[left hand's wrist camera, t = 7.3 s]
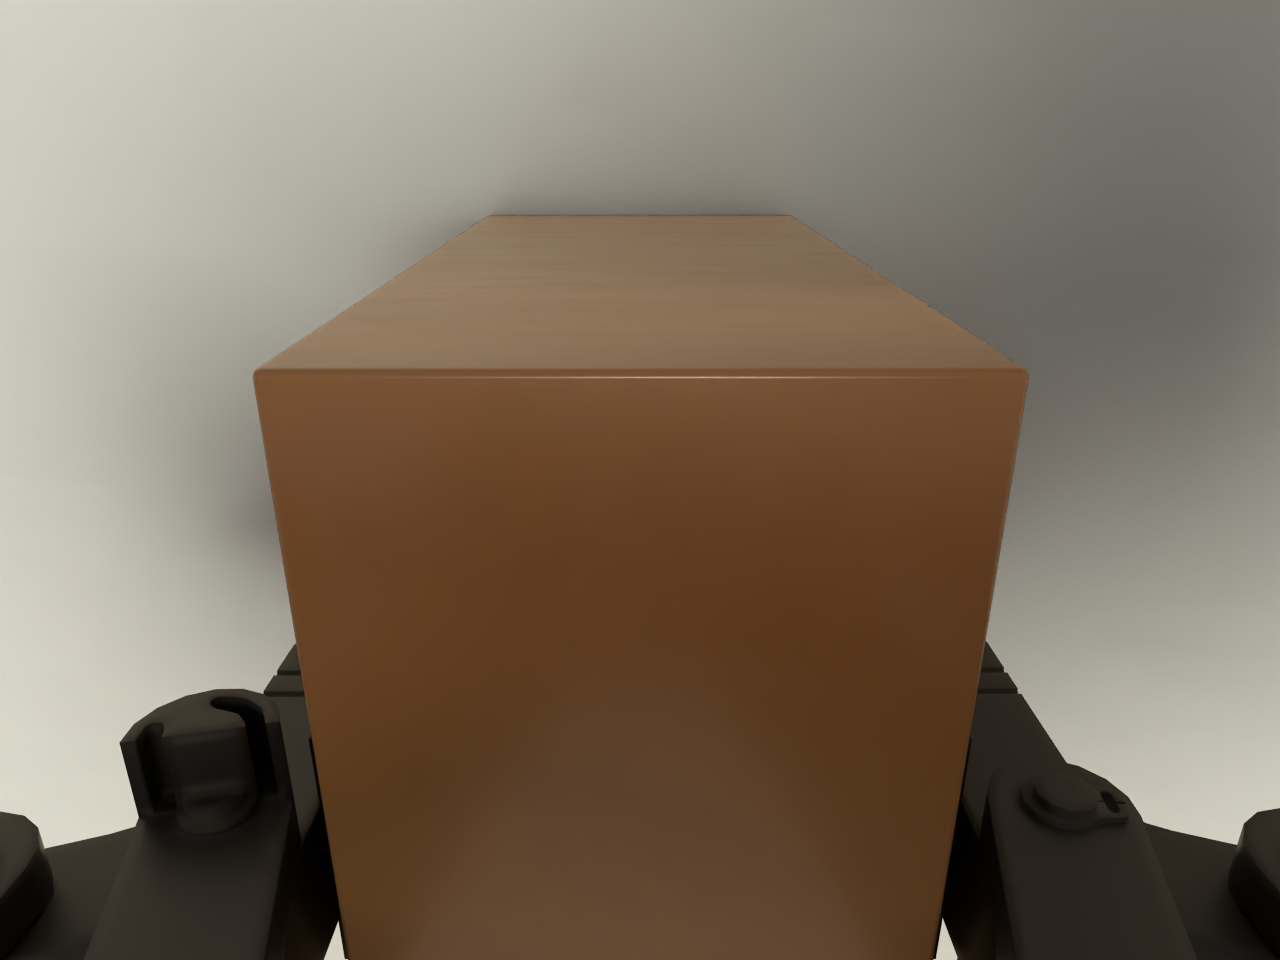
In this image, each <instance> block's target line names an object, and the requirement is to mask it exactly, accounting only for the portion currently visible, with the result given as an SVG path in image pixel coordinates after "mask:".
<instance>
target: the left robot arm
mask: <svg viewBox="0 0 1280 960" xmlns="http://www.w3.org/2000/svg"><path fill="white" fill-rule="evenodd" d="M1017 689H1018V688H1017V687H1016V685H1015V684H1014V682H1013V681H1012V679H1011V678H1010V676H1009V675H1008V673H1004V667H1003V666H1002V664H1001V663H1000V661H999V660H998V658H997V657H996V655H995V654H994V652H993V650H992V649H991V647H990V646H989V644H988V643H987V642H986V641H985V646H984V652H983V658H982V664H981V670H980V677H979V683H978V689H977V695H976V701H975V707H974V713H973V719H972V725H971V731H970V737H969V743H968V749H967V755H966V762H965V768H964V774H963V780H962V786H961V792H960V798H959V804H958V810H957V816H956V822H955V828H954V834H953V841H952V847H951V853H950V859H949V865H948V871H947V877H946V883H945V889H944V895H943V901H942V907H941V913H940V919H939V926H938V932H937V938H936V944H935V950H934V956H933V959H936V954H937V948H938V942H939V936H940V930H941V924H942V918H943V920H944V922H945V925H946V927H947V930H948V933H949V935H950V938H951V941H952V943H953V946H954V949H955V951H956V954H957V957H958V958H957V960H1280V808H1278V809H1272V810H1267V811H1261V812H1257V813H1256V814H1255V815H1254V816H1252V817H1251V818H1250V819H1249V820H1248V821H1247V822H1245V823H1244V825H1243V829H1242V832H1241V835H1240V838H1239V841H1238V844H1237V845H1234V844H1229V843H1225V842H1220V841H1216V840H1211V839H1207V838H1202V837H1198V836H1193V835H1189V834H1184V833H1180V832H1175V831H1171V830H1168V829H1164V828H1161V827H1157V826H1154V825H1150V824H1147V823H1144V822H1143V820H1142V817H1141V815H1140V814H1139V812H1138V811H1137V809H1136V808H1135V807H1134V805H1133V804H1132V802H1131V801H1130V799H1129V798H1128V796H1126V795H1125V794H1124V793H1123V792H1121V791H1120V790H1119V789H1118V788H1116V787H1115V786H1114V785H1113V784H1111V783H1110V782H1109V781H1108V780H1106V779H1104V778H1102V777H1100V776H1098V775H1096V774H1094V773H1092V772H1090V771H1088V770H1086V769H1084V768H1081V767H1079V766H1076V765H1072V764H1068V763H1066V761H1065V760H1064V758H1063V757H1062V755H1061V754H1060V752H1059V751H1058V749H1057V748H1056V746H1055V745H1054V743H1053V742H1052V740H1051V739H1050V737H1049V735H1048V734H1047V732H1046V731H1045V729H1044V728H1043V726H1042V725H1041V723H1040V722H1039V720H1038V719H1037V717H1036V716H1035V714H1034V713H1033V711H1032V710H1031V708H1030V707H1029V705H1028V704H1027V702H1026V701H1025V699H1024V698H1023V696H1022V695H1021V694H1018V691H1017ZM120 746H121V750H122V754H123V758H124V762H125V766H126V769H127V773H128V777H129V781H130V785H131V789H132V792H133V796H134V800H135V804H136V808H137V812H138V816H139V819H138V821H137V824H136V827H133V828H129V829H126V830H123V831H119V832H116V833H112V834H108V835H104V836H99V837H95V838H90V839H86V840H81V841H77V842H73V843H68V844H64V845H59V846H55V847H50V848H46V849H44V845H43V842H42V839H41V836H40V833H39V829H38V827H37V826H36V825H34V824H33V823H32V822H31V821H30V820H29V819H27V818H26V817H25V816H23V815H17V814H11V813H5V812H0V960H324V957H325V955H326V952H327V949H328V947H329V944H330V941H331V939H332V936H333V933H334V931H335V928H336V925H337V923H338V920H339V926H340V933H341V939H342V945H343V951H344V957H345V959H348V956H347V950H346V944H345V937H344V931H343V925H342V919H341V913H340V907H339V901H338V895H337V888H336V882H335V876H334V870H333V864H332V858H331V852H330V846H329V840H328V833H327V827H326V821H325V815H324V809H323V803H322V797H321V791H320V785H319V778H318V772H317V766H316V760H315V754H314V748H313V742H312V736H311V729H310V723H309V717H308V711H307V705H306V699H305V693H304V687H303V681H302V674H301V668H300V662H299V656H298V650H297V644H295V645H294V646H293V647H292V649H291V650H290V652H289V653H288V655H287V656H286V658H285V660H284V661H283V663H282V664H281V666H280V667H279V669H278V670H277V676H273V678H272V679H271V681H270V682H269V684H268V686H267V687H266V689H265V690H264V694H261V693H257V692H253V691H249V690H245V689H215V690H211V691H206V692H202V693H197V694H193V695H188V696H185V697H182V698H180V699H178V700H175V701H173V702H170V703H168V704H166V705H163V706H161V707H159V708H157V709H155V710H154V711H152V712H151V713H149V714H148V715H147V716H145V717H144V718H142V719H141V720H139V721H138V722H137V723H135V724H134V725H133V726H132V727H131V729H130V730H129V731H128V733H127V734H126V735H125V736H124V738H123V739H122V740H121V742H120Z"/></svg>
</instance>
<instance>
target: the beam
mask: <svg viewBox="0 0 1280 960" xmlns="http://www.w3.org/2000/svg"><path fill="white" fill-rule="evenodd" d="M1028 379H1029V376H1028V372H1027V370H1026V369H1024V368H1023V367H1021V366H1020V365H1018V364H1017V363H1015V362H1014V361H1012V360H1011V359H1009V358H1008V357H1006V356H1005V355H1003V354H1002V353H1000V352H998V351H997V350H995V349H994V348H992V347H991V346H989V345H988V344H986V343H985V342H983V341H982V340H980V339H979V338H977V337H976V336H974V335H973V334H971V333H970V332H968V331H966V330H965V329H963V328H962V327H960V326H959V325H957V324H956V323H954V322H953V321H951V320H950V319H948V318H947V317H945V316H944V315H942V314H941V313H939V312H938V311H936V310H934V309H933V308H931V307H930V306H928V305H927V304H925V303H924V302H922V301H921V300H919V299H918V298H916V297H915V296H913V295H912V294H910V293H909V292H907V291H906V290H904V289H903V288H901V287H899V286H898V285H896V284H895V283H893V282H892V281H890V280H889V279H887V278H886V277H884V276H883V275H881V274H880V273H878V272H877V271H875V270H874V269H872V268H871V267H869V266H867V265H866V264H864V263H863V262H861V261H860V260H858V259H857V258H855V257H854V256H852V255H851V254H849V253H848V252H846V251H845V250H843V249H842V248H840V247H839V246H837V245H835V244H834V243H832V242H831V241H829V240H828V239H826V238H825V237H823V236H822V235H820V234H819V233H817V232H816V231H814V230H813V229H811V228H810V227H808V226H807V225H805V224H803V223H802V222H800V221H799V220H797V219H796V218H794V217H793V216H791V215H490V216H488V217H486V218H485V219H483V220H481V221H480V222H478V223H477V224H475V225H474V226H472V227H471V228H469V229H468V230H466V231H465V232H463V233H462V234H460V235H459V236H457V237H456V238H454V239H453V240H451V241H450V242H448V243H447V244H445V245H444V246H442V247H441V248H439V249H438V250H436V251H434V252H433V253H431V254H430V255H428V256H427V257H425V258H424V259H422V260H421V261H419V262H418V263H416V264H415V265H413V266H412V267H410V268H409V269H407V270H406V271H404V272H403V273H401V274H400V275H398V276H397V277H395V278H394V279H392V280H391V281H389V282H387V283H386V284H384V285H383V286H381V287H380V288H378V289H377V290H375V291H374V292H372V293H371V294H369V295H368V296H366V297H365V298H363V299H362V300H360V301H359V302H357V303H356V304H354V305H353V306H351V307H350V308H348V309H347V310H345V311H344V312H342V313H340V314H339V315H337V316H336V317H334V318H333V319H331V320H330V321H328V322H327V323H325V324H324V325H322V326H321V327H319V328H318V329H316V330H315V331H313V332H312V333H310V334H309V335H307V336H306V337H304V338H303V339H301V340H300V341H298V342H297V343H295V344H293V345H292V346H290V347H289V348H287V349H286V350H284V351H283V352H281V353H280V354H278V355H277V356H275V357H274V358H272V359H271V360H269V361H268V362H266V363H265V364H263V365H262V366H260V367H259V368H257V369H256V370H254V374H253V381H254V387H255V393H256V399H257V405H258V411H259V417H260V424H261V430H262V436H263V442H264V448H265V454H266V460H267V466H268V473H269V479H270V485H271V491H272V497H273V503H274V509H275V515H276V521H277V528H278V534H279V540H280V546H281V552H282V558H283V564H284V570H285V577H286V583H287V589H288V595H289V601H290V607H291V613H292V619H293V625H294V632H295V638H296V644H297V650H298V656H299V662H300V668H301V674H302V681H303V687H304V693H305V699H306V705H307V711H308V717H309V723H310V729H311V736H312V742H313V748H314V754H315V760H316V766H317V772H318V778H319V785H320V791H321V797H322V803H323V809H324V815H325V821H326V827H327V833H328V840H329V846H330V852H331V858H332V864H333V870H334V876H335V882H336V888H337V895H338V901H339V907H340V913H341V919H342V925H343V931H344V937H345V944H346V950H347V956H348V960H933V956H934V950H935V944H936V938H937V932H938V926H939V919H940V913H941V907H942V901H943V895H944V889H945V883H946V877H947V871H948V865H949V859H950V853H951V847H952V841H953V834H954V828H955V822H956V816H957V810H958V804H959V798H960V792H961V786H962V780H963V774H964V768H965V762H966V755H967V749H968V743H969V737H970V731H971V725H972V719H973V713H974V707H975V701H976V695H977V689H978V683H979V677H980V670H981V664H982V658H983V652H984V646H985V640H986V634H987V628H988V622H989V616H990V610H991V604H992V598H993V591H994V585H995V579H996V573H997V567H998V561H999V555H1000V549H1001V543H1002V537H1003V531H1004V525H1005V519H1006V512H1007V506H1008V500H1009V494H1010V488H1011V482H1012V476H1013V470H1014V464H1015V458H1016V452H1017V446H1018V440H1019V434H1020V427H1021V421H1022V415H1023V409H1024V403H1025V397H1026V391H1027V385H1028Z"/></svg>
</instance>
